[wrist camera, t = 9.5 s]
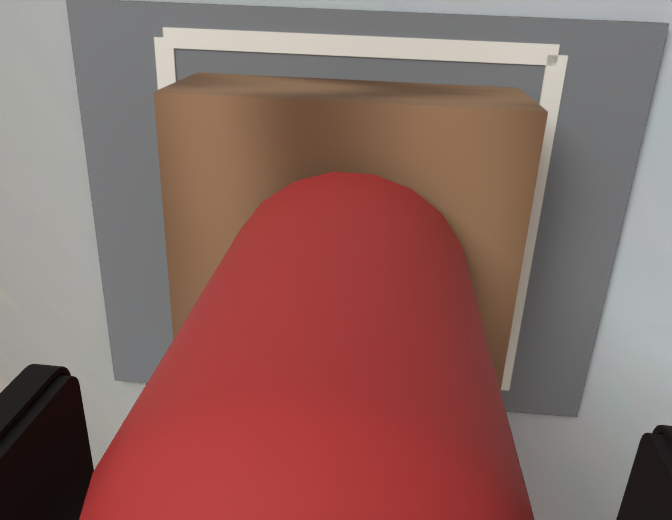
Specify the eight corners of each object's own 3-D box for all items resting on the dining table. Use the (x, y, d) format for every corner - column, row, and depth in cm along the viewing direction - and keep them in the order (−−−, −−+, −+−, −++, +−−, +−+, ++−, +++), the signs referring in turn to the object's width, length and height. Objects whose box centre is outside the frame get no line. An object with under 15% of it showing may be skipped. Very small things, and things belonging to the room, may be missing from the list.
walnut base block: (518, 87, 19) (548, 111, 16) (477, 364, 23) (492, 435, 20) (197, 72, 20) (153, 91, 16) (211, 344, 24) (179, 409, 20)
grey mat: (663, 22, 18) (670, 23, 18) (574, 410, 24) (577, 417, 24) (72, -2, 20) (64, -2, 19) (119, 374, 25) (113, 381, 25)
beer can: (387, 408, 20) (382, 954, 9) (197, 310, 19) (-78, 779, 8) (514, 241, 17) (739, 716, 6) (300, 117, 16) (107, 412, 5)
